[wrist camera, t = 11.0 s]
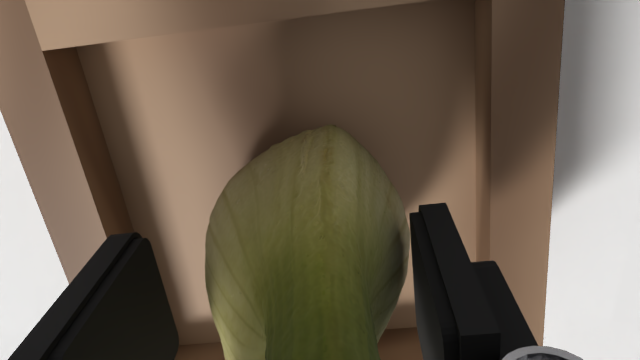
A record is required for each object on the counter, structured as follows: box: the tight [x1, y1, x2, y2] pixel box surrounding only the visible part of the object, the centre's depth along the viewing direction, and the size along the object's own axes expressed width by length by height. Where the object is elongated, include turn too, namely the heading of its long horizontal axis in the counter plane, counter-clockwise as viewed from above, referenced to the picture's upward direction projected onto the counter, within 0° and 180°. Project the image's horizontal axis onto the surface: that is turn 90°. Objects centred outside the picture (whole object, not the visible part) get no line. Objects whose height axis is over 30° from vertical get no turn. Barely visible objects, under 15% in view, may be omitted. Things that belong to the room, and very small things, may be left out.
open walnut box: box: [0, 0, 565, 360], centre depth 16 cm, size 13×13×6 cm
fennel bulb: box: [205, 124, 410, 360], centre depth 9 cm, size 6×5×12 cm
